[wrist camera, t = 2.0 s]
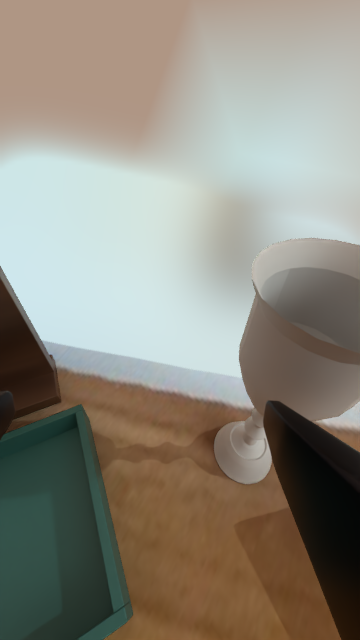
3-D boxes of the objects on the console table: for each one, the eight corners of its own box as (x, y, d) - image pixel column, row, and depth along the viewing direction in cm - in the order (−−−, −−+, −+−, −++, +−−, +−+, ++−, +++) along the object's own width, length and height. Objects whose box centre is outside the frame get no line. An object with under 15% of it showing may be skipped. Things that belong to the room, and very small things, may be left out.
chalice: (229, 398, 25) (289, 225, 13) (294, 441, 22) (456, 273, 10) (186, 459, 21) (215, 291, 8) (260, 523, 18) (474, 411, 5)
